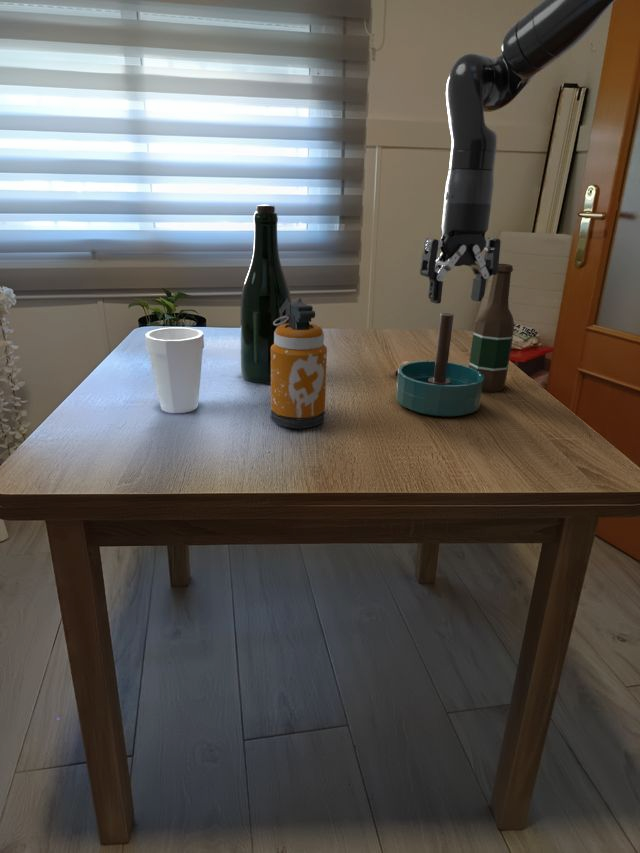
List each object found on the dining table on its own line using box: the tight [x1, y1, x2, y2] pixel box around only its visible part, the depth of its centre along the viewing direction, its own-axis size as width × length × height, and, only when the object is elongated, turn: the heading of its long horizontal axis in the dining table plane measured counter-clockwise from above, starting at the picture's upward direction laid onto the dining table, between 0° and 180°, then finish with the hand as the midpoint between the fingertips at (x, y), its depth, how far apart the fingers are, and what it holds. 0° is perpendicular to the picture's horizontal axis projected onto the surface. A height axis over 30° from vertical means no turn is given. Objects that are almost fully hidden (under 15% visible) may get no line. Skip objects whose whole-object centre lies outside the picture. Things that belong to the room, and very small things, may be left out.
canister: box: [270, 297, 328, 429], centre depth 93 cm, size 9×11×20 cm
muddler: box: [428, 312, 455, 385], centre depth 103 cm, size 4×4×16 cm
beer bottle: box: [468, 263, 515, 393], centre depth 112 cm, size 8×8×24 cm
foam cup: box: [144, 327, 205, 414], centre depth 98 cm, size 10×9×13 cm
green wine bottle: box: [240, 204, 292, 384], centre depth 111 cm, size 10×10×33 cm
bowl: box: [395, 360, 484, 418], centre depth 105 cm, size 15×15×6 cm
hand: (456, 301), depth 99 cm, fingers open, 8 cm apart
